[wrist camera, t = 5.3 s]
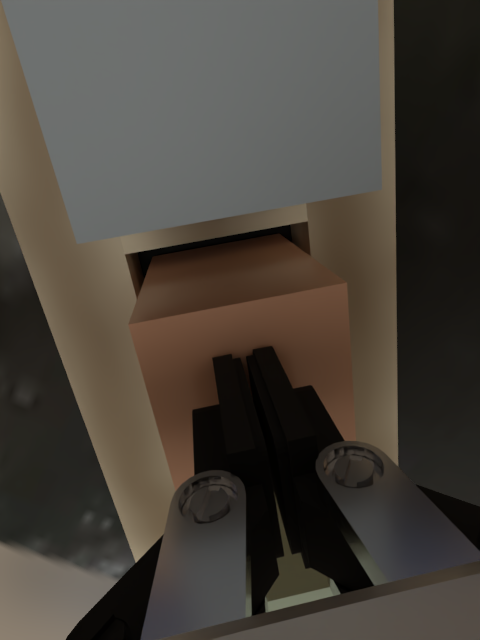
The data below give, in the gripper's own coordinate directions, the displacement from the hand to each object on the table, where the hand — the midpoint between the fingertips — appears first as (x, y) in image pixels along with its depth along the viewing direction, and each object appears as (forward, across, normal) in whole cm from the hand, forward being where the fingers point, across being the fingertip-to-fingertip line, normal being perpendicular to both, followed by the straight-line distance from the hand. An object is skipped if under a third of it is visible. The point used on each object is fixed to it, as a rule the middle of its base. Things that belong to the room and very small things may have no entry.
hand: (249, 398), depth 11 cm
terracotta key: (+8, 0, 0) cm, 8 cm away
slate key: (+6, 0, -8) cm, 10 cm away
